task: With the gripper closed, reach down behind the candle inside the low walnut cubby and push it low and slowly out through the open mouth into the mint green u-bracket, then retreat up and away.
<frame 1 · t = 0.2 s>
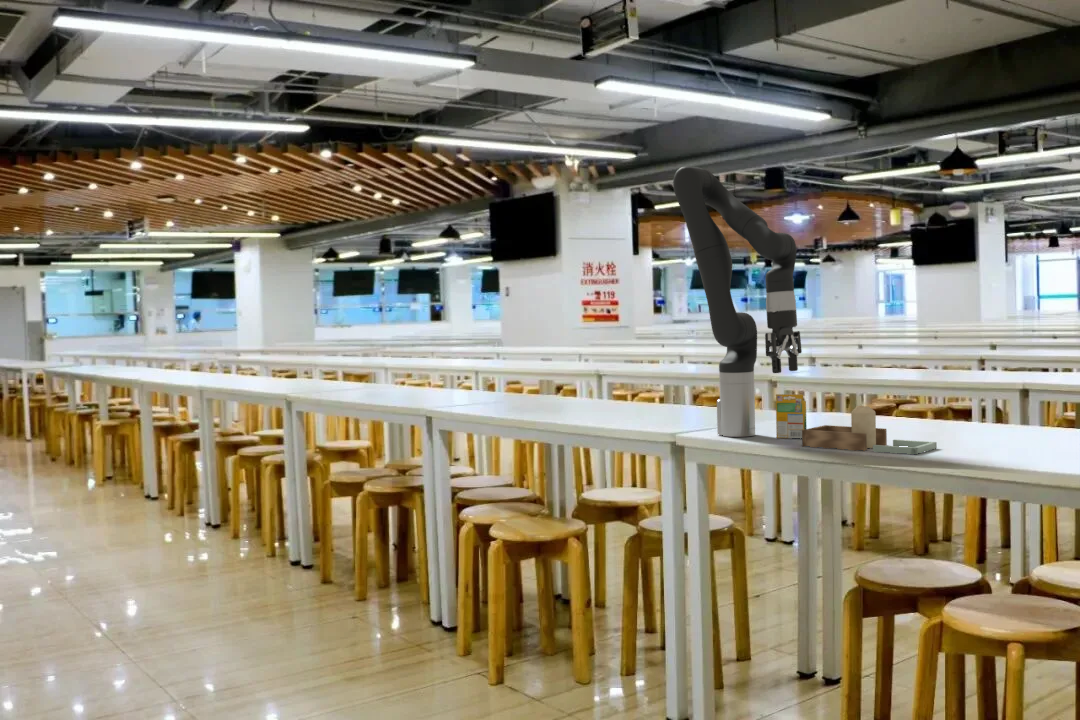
hand: (785, 371, 250), 17 cm above the table, tool pointing down, fingers open, 8 cm apart
cubby: (844, 445, 235), on the table
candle: (863, 448, 231), on the table
crayon box: (791, 438, 252), on the table
mint green u-bracket: (904, 450, 224), on the table
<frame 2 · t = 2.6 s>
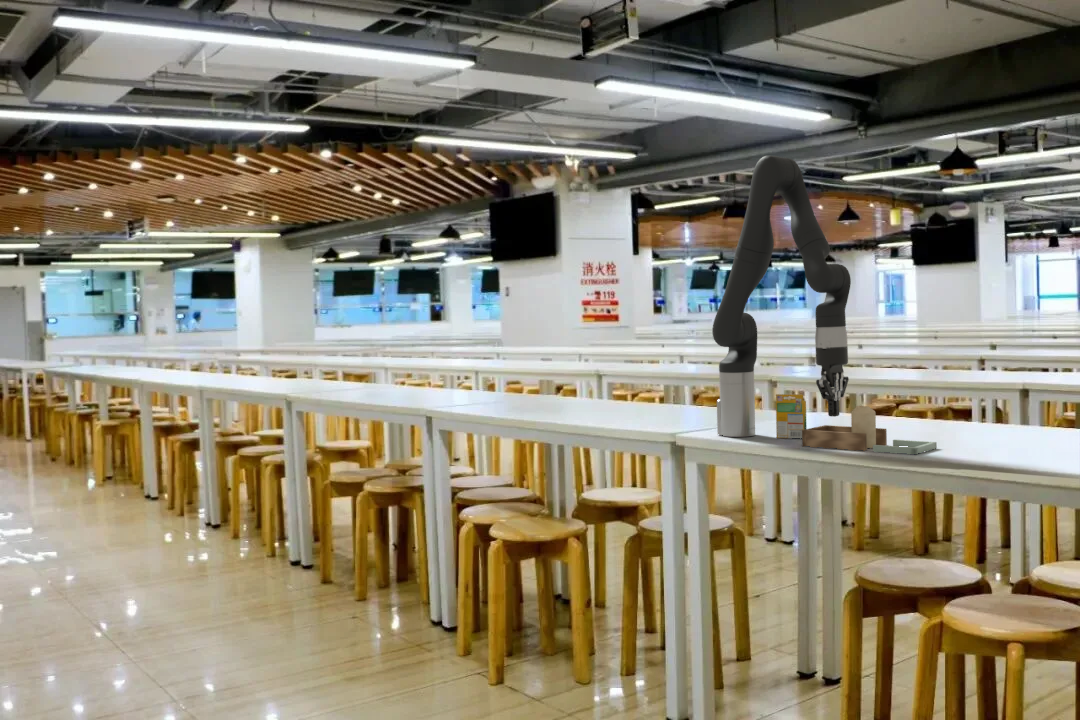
hand: (833, 416, 236), 7 cm above the table, tool pointing down, fingers closed
nothing on the table moved.
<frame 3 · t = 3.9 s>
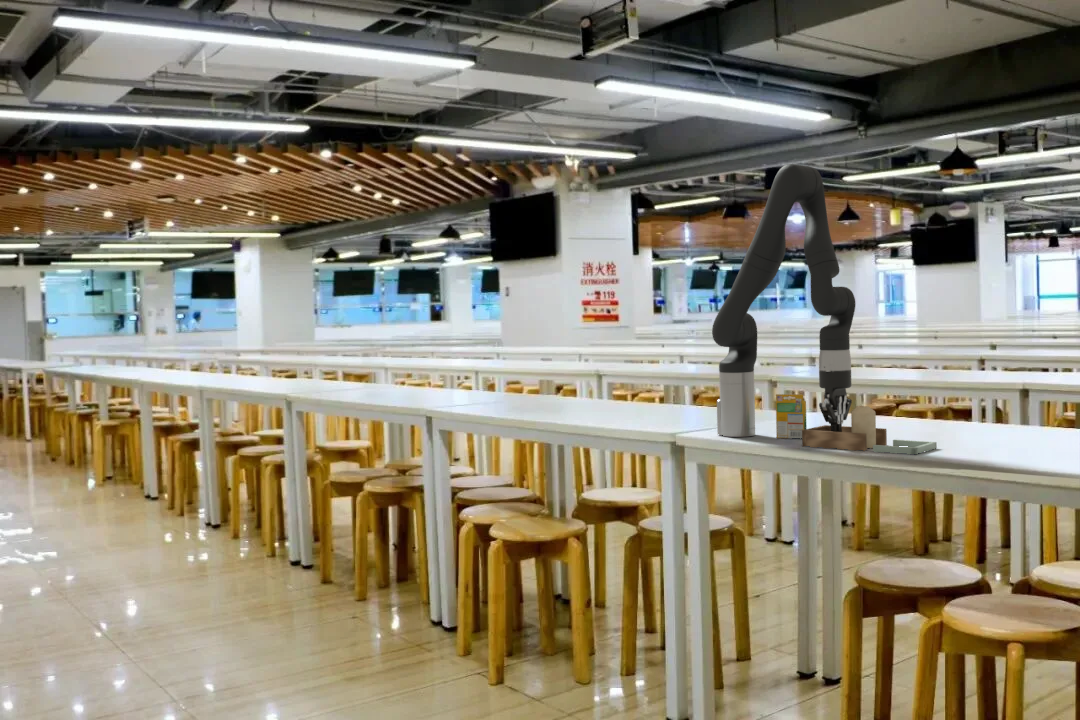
hand: (836, 438, 236), 2 cm above the table, tool pointing down, fingers closed
nothing on the table moved.
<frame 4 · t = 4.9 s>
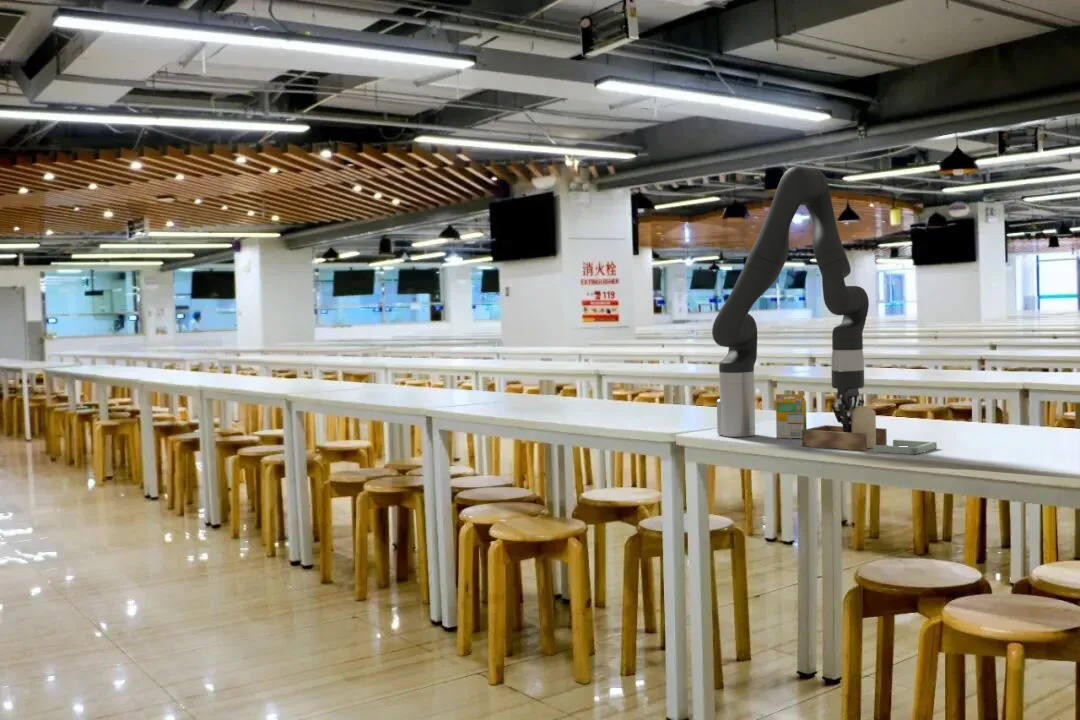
hand: (848, 439, 234), 2 cm above the table, tool pointing down, fingers closed
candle: (863, 448, 231), on the table, touching gripper
everything else where it was.
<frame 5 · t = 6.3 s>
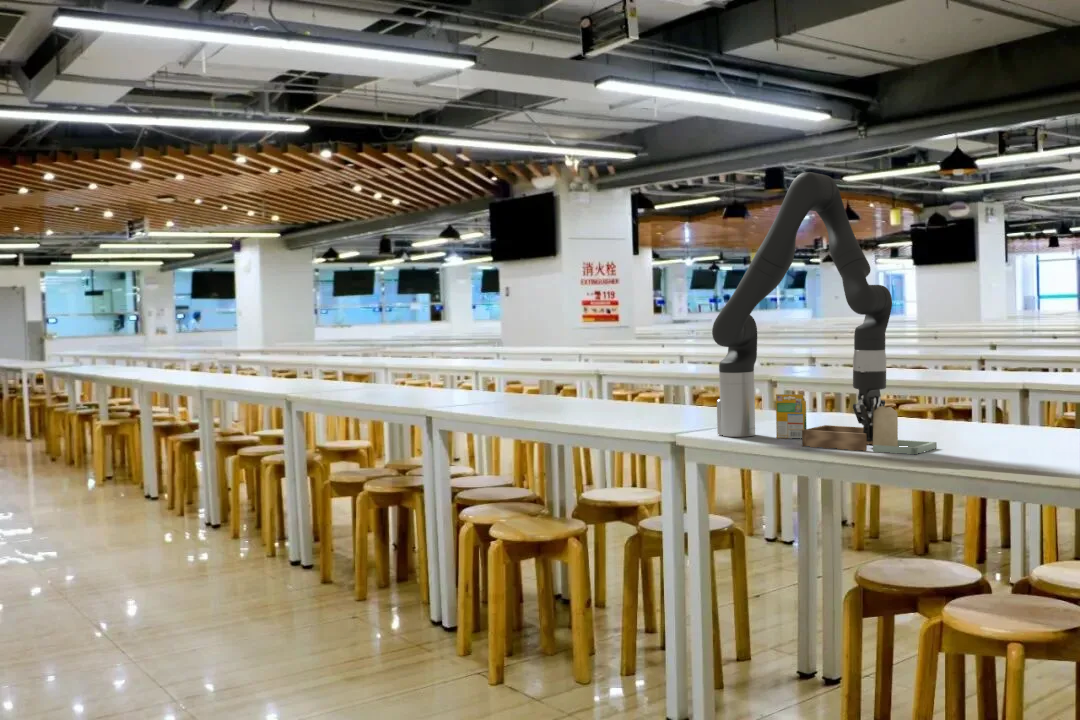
hand: (869, 441, 230), 2 cm above the table, tool pointing down, fingers closed
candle: (885, 449, 228), on the table, touching gripper
everything else where it was.
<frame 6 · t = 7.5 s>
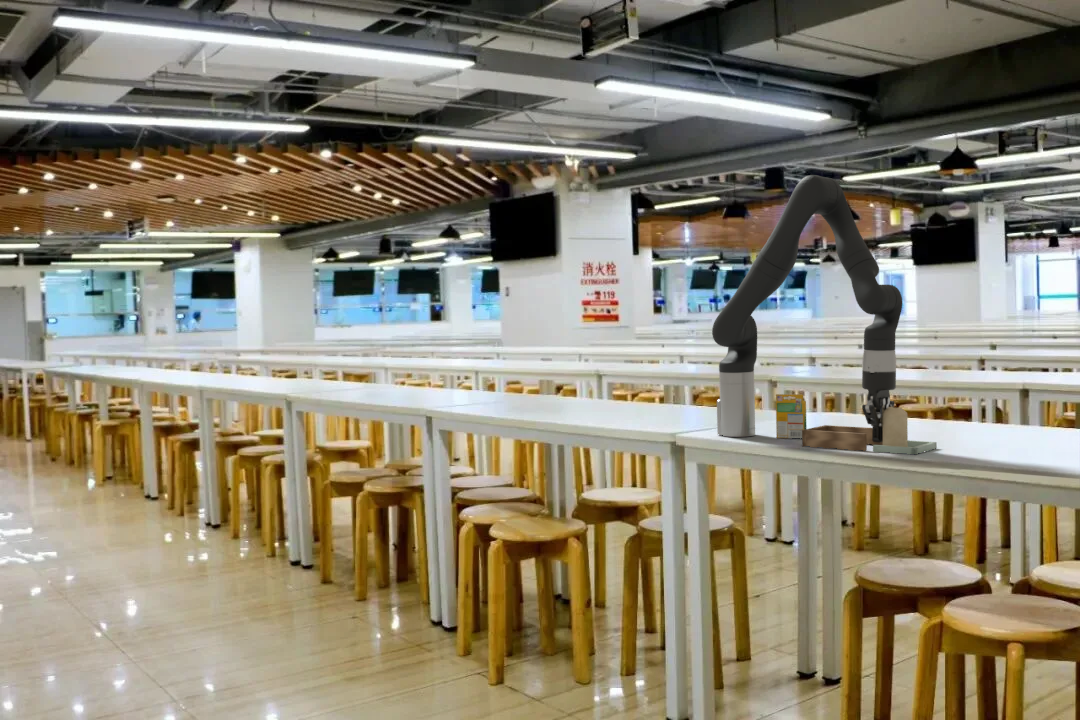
hand: (877, 441, 229), 2 cm above the table, tool pointing down, fingers closed
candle: (895, 450, 226), on the table, touching gripper
everything else where it was.
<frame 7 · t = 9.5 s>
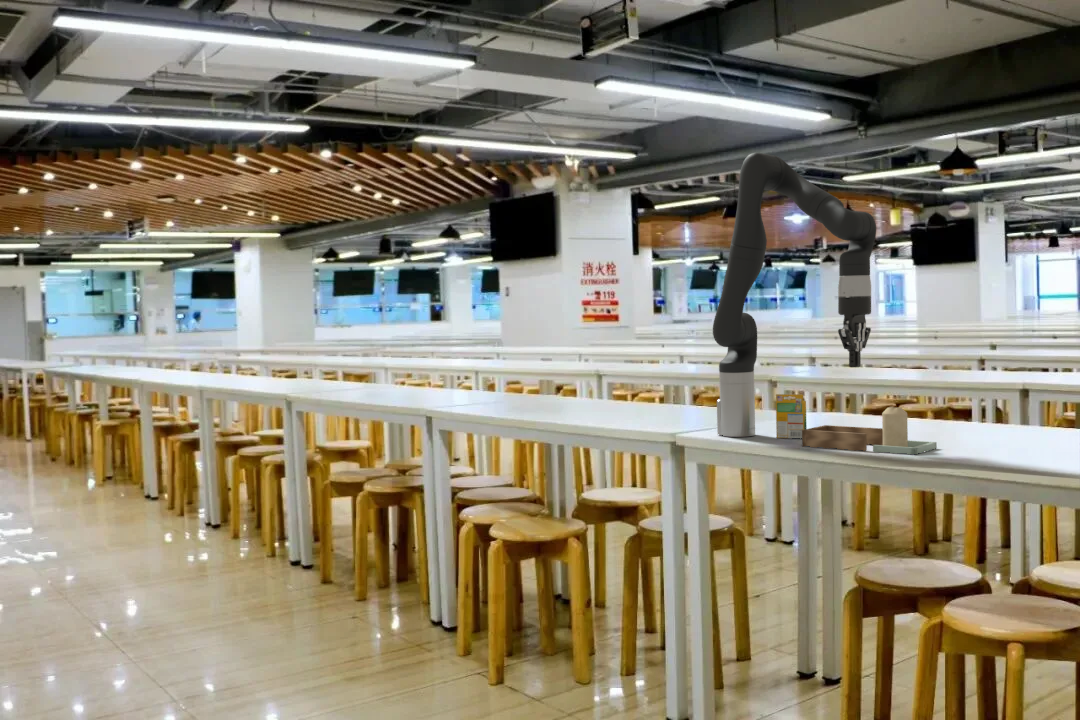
hand: (854, 367, 232), 19 cm above the table, tool pointing down, fingers closed
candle: (895, 450, 226), on the table
everything else where it was.
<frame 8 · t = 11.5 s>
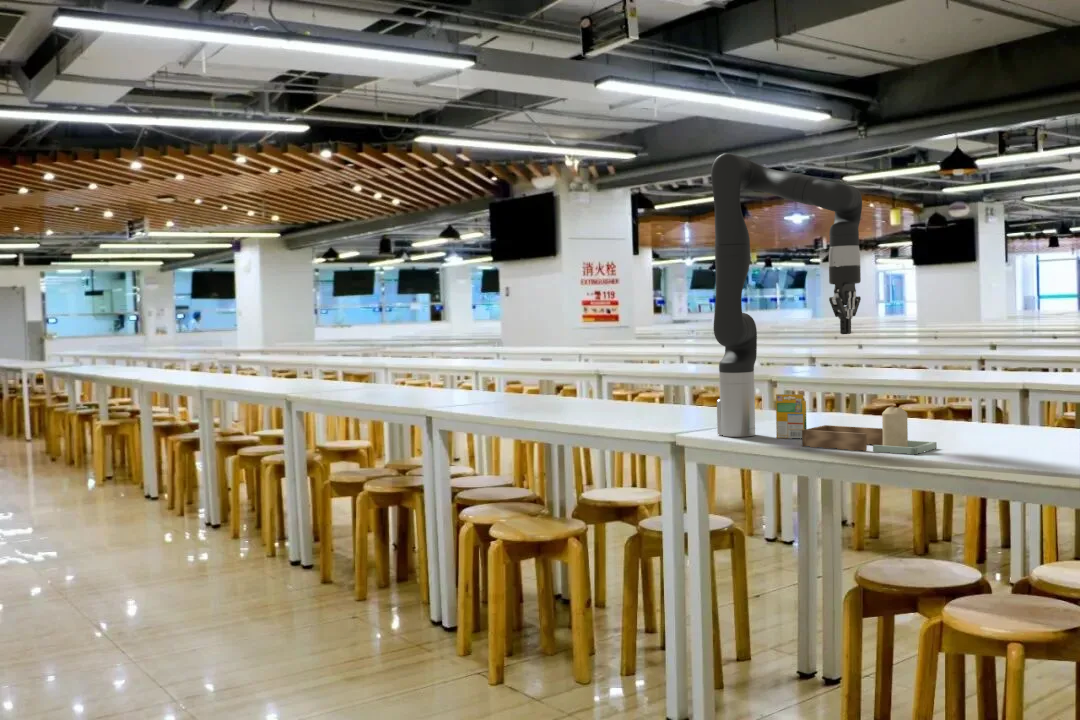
hand: (845, 334, 241), 27 cm above the table, tool pointing down, fingers closed
nothing on the table moved.
at the end: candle inside the target area on the mint green u-bracket (2.3 cm from its centre), point 0.0 cm above the mint green u-bracket's base; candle tilted 0°; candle touching table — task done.
